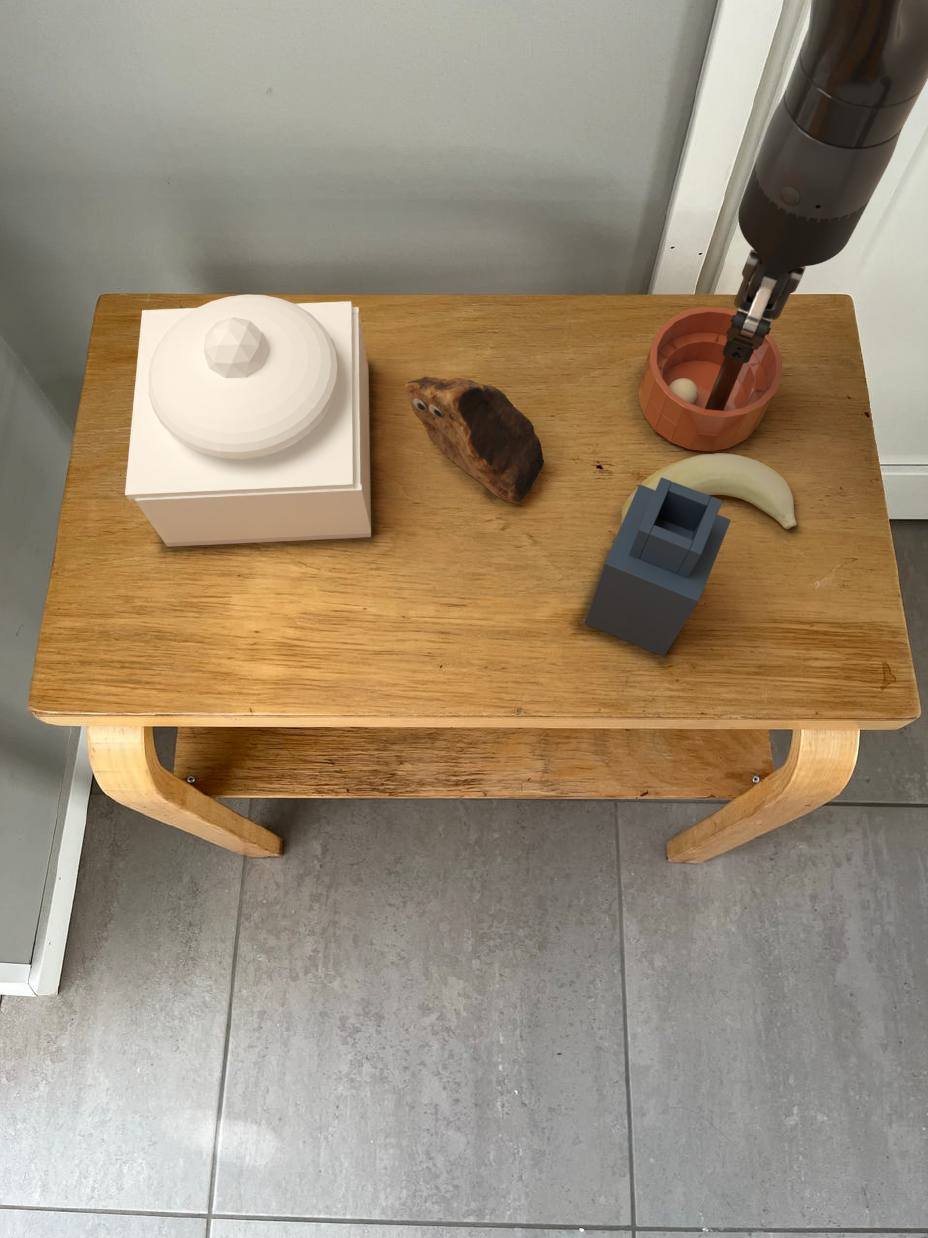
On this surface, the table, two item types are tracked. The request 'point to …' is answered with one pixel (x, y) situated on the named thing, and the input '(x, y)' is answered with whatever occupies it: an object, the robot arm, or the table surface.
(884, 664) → the table surface
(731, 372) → the stick
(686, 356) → the bowl
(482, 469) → the decorative rock
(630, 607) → the holder
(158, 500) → the white lidded box
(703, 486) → the fruit
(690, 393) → the ball
